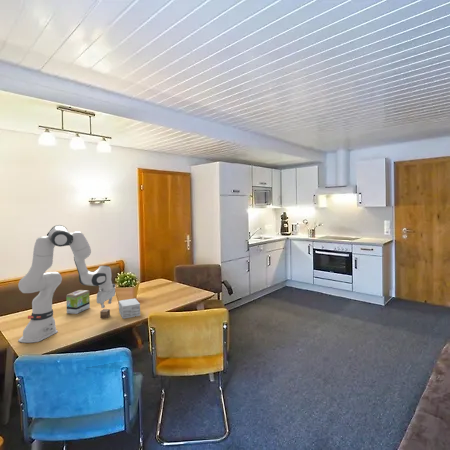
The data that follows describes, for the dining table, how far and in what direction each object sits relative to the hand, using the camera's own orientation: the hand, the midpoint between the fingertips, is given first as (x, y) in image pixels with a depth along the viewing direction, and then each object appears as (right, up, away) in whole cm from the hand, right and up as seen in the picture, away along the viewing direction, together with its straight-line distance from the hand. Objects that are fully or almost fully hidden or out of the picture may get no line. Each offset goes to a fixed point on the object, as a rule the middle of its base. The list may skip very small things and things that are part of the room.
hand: (106, 305), depth 220 cm
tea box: (-29, -9, +17) cm, 35 cm away
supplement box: (+14, -9, +8) cm, 19 cm away
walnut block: (-2, -9, +2) cm, 10 cm away
